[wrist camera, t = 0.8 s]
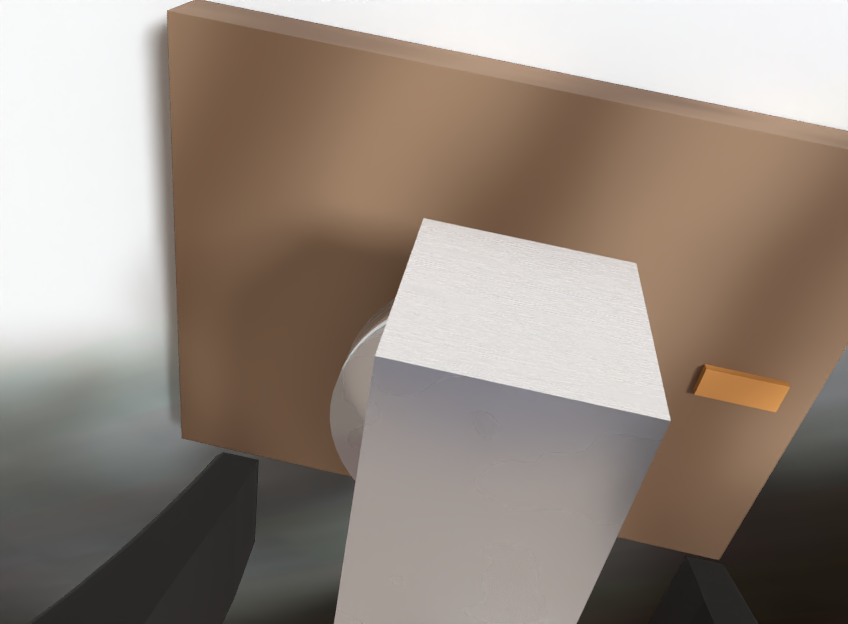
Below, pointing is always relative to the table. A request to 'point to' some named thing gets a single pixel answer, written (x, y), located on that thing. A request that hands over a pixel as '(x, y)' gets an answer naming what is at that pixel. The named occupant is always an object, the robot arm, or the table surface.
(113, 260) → the table surface
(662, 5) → the table surface
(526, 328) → the grey and orange block
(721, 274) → the mount plate
